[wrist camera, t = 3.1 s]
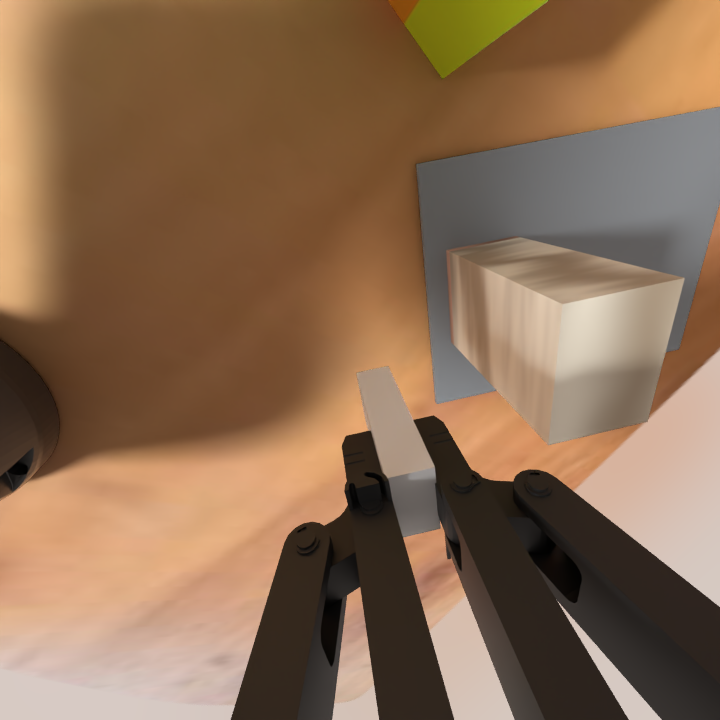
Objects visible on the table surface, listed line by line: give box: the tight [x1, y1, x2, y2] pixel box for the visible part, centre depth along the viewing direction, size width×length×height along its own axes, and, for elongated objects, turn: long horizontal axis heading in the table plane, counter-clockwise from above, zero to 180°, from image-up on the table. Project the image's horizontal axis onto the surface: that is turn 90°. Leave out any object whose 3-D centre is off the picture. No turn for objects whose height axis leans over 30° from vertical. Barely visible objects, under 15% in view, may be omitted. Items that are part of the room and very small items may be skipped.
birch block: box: [446, 236, 685, 445], centre depth 21 cm, size 5×7×12 cm
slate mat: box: [416, 107, 720, 404], centre depth 27 cm, size 22×18×1 cm
